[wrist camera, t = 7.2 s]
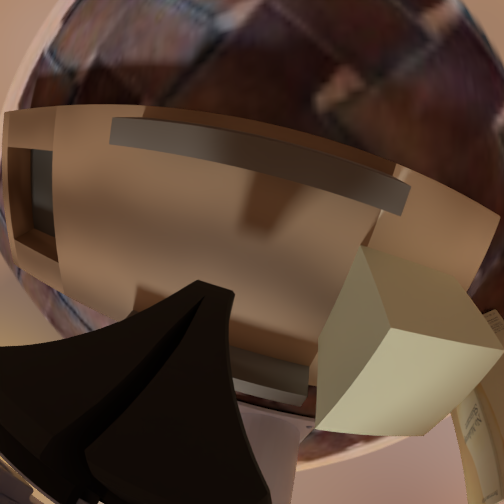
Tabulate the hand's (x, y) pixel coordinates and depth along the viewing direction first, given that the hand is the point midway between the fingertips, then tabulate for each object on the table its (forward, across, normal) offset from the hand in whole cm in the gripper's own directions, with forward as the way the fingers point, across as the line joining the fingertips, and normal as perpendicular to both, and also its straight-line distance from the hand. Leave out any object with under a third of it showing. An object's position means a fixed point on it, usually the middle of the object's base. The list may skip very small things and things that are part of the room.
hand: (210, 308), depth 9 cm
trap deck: (+5, +4, 0) cm, 6 cm away
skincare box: (+6, -17, +3) cm, 18 cm away
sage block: (+3, -7, 0) cm, 8 cm away
